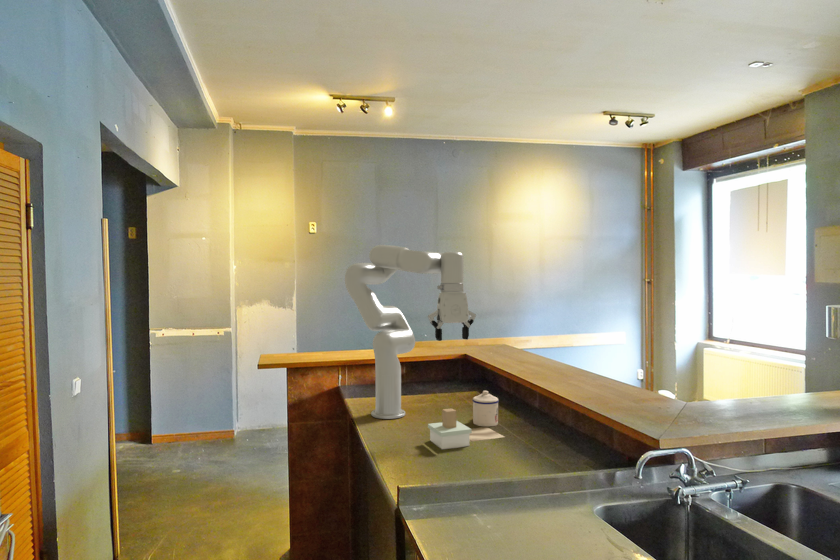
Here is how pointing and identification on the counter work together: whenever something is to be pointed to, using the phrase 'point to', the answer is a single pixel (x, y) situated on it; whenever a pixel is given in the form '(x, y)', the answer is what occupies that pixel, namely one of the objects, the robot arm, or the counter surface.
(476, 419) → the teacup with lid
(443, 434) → the lid
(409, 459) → the counter surface
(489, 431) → the mat
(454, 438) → the white open square tray
